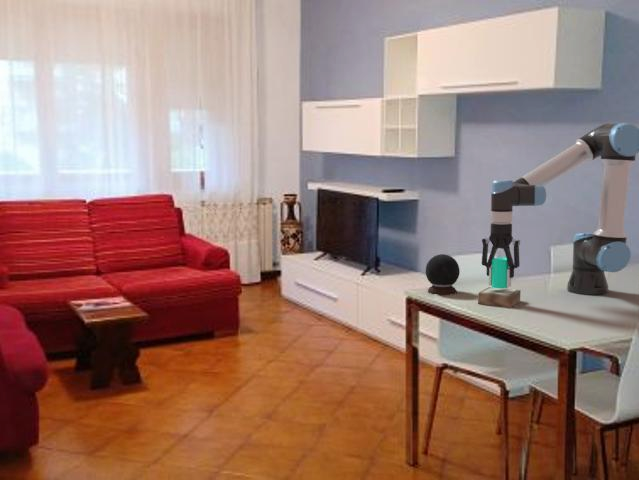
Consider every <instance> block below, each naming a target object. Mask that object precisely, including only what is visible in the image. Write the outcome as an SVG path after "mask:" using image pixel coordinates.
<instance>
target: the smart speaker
mask: <svg viewBox="0 0 639 480" xmlns="http://www.w3.org/2000/svg"><path fill="white" fill-rule="evenodd" d="M460 272H461V271H460V266H459V263H458V262H457V260H456V259H455V258H454V257H453V256H451V255H449V254H446V253H445V254H444V253H443V254H437V255H434V256H433V257H432V258H430V259H429V260H428V262H427V264H426V266H425V275H426V279H427V280H428V282H429V283H430V284H431V286H429V288H428V289H427V293H428V294H430V293H431V294H430V295H434V294H439V295H438V296H451V295H450V294H453V295H456V294H457V293H458V292H457V291H458V290H457V288H456V287H454V286H453V285H455V283H457V281H458V279H459V276H460ZM455 293H456V294H455Z"/></svg>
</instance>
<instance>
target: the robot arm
mask: <svg viewBox="0 0 639 480" xmlns="http://www.w3.org/2000/svg"><path fill="white" fill-rule="evenodd" d="M638 153H639V128H638V127H637V126H636V125H634V124H632V123H626V122H618V123H616V122H615V123H604V124H601V125H599V126H597V127H595V128H593V129H592V130H590V131H588V132H587V133H586V134H584V135H583V136H581V137H579V138H578V139H576V140H575V143H574V144H573V145H571V146H570V147H568V148H567V149H564V150H563V151H561V152H560V153H557V155H555V156H553V157H552V158H550V159H549V160H547V161H546V162H544V163H542V164H541V165H539V166H537V167H536V168H534V169H532V170H531V171H529V172H528V173H526V174H525V175H523V176H521V177H520V178H517V179H516V180H515V181H513V180H511V179H495V180H493V181H492V183H491V191H490V195H491V196H490V197H491V198H490V199H491V200H490V204H491V205H490V206H491V207H490V222H491V223H490V235H489V237H487V238H486V237H484V238H482V239H481V242H482V254H481V255H482V256H481V265H482V266H484V267H486V276H487V277H488V286H492V259H493V258H496V257H495V256H496V253H497V251H498V249H503V252H504V254H505V258H507V261H508V265H509V269H507V287H508V288H510V287H512V279H513V278H514V277H515V269H517V268H519V267H520V245H521V240H520V239H518V240H517V239H515V238H513V235H512V234H513V223H512V222H513V211H514V209H513V207H533V206H534V207H536V206H543V205H544V204H545V202H546V199H547V190H546V188H545V187H546V186H548V185H549V184H551V183H552V182H554V181H555V180H557V179H559V178H560V177H562V176H564V175H565V174H567V173H568V172H570V171H571V170H574V169H576V168H577V167H578V166H580V165H581V164H583V163H585V162H591V161H593V160H595V159H597V158H599V157H600V161H601V162H602V163H603V164H604V170H603V177H602V184H601V185H602V186H601V195H600V197H601V198H600V207H599V214H598V215H599V217H598V225H597V230H595V231H594V232H583V233H582V232H581V233H580V232H578V233H575V234H574V237H573V242H572V243H573V247H572V249H573V252H572V253H573V254H572V271H571V274H570V277H569V279H568V281H567V284H566V285H567V286H566V290H567V291H568V292H571V293H573V294H574V293H575V294H578V295H579V294H581V295H591V296H592V295H595V296H596V295H597V296H598V295H605V294H608V293H609V284H608V281H607V277H606V273H607V272H608V273H618V272H620V271H622V270H624V268H626V267H627V266H628V264H629V263H630V261H631V255H632V252H631V250H630V248H629V246H628V245H627V238H628V236H627V235H626V233H625V232H624V224H625V214H626V213H625V212H626V207H627V195H628V187H629V178H630V177H629V176H630V169H631V165H633V164H634V163H635V162H636V155H637V154H638ZM490 243H491V244H492V246H491V249H490V253H488V252H489V244H490ZM511 243H512V246H513V256H512V253H511V247H510V245H511ZM488 254H489V257H488ZM605 272H606V273H605Z"/></svg>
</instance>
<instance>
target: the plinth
mask: <svg viewBox="0 0 639 480" xmlns="http://www.w3.org/2000/svg"><path fill="white" fill-rule="evenodd" d="M477 294H478V295H477V304H478V305H484V306H494V307H502V308H503V307H504V308H510V309H511V308H512V307H514V306H516V304H518V303H519V302H521V290H519V289H512V288H511V289H510V288H493V287H492V286H491V287H487V288H484V289H482V290H481V291H480V292H478V293H477Z"/></svg>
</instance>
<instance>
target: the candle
mask: <svg viewBox="0 0 639 480" xmlns="http://www.w3.org/2000/svg"><path fill="white" fill-rule="evenodd" d="M491 267H492V285H491V287H493V288H503V289H509V287H507V269H509V265H508V261H507V258H506V256H505V257H504V256H502V254H500V256H499V257H494V258H493V259H492V266H491Z"/></svg>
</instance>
